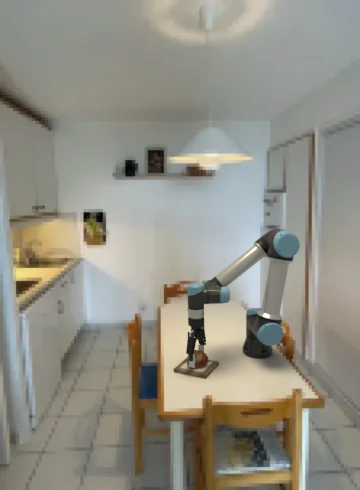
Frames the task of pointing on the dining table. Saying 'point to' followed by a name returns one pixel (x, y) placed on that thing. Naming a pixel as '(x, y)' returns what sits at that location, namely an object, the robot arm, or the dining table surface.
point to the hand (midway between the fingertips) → (196, 362)
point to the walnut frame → (196, 369)
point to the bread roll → (199, 359)
